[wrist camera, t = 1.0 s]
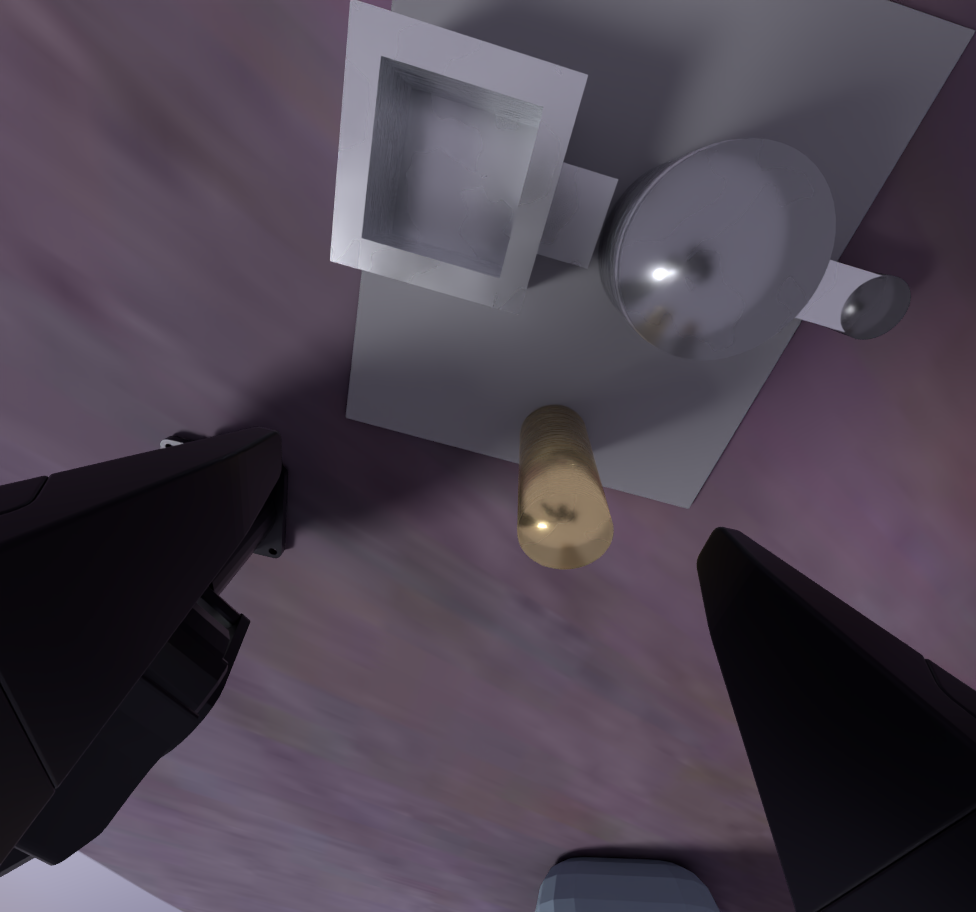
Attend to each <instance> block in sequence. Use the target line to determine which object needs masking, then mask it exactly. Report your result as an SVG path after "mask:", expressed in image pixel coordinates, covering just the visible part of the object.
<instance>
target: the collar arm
mask: <svg viewBox="0 0 976 912" xmlns="http://www.w3.org/2000/svg"><path fill="white" fill-rule="evenodd" d="M587 78H588V75H587V74H584V73H581V72H578V71H575V70H571V69H568V68H565V67H562V66H559V65H556V64H553V63H550V62H547V61H544V60H540V59H537V58H534V57H531V56H528V55H525V54H522V53H519V52H516V51H513V50H509V49H506V48H503V47H500V46H497V45H494V44H491V43H488V42H485V41H482V40H479V39H475V38H472V37H469V36H466V35H463V34H460V33H457V32H454V31H451V30H448V29H444V28H441V27H438V26H435V25H432V24H429V23H426V22H423V21H420V20H417V19H413V18H410V17H407V16H404V15H401V14H398V13H395V12H392V11H389V10H386V9H382V8H379V7H376V6H373V5H370V4H367V3H364V2H361V1H358V0H350V11H349V24H348V36H347V49H346V62H345V75H344V88H343V101H342V113H341V126H340V139H339V152H338V165H337V178H336V190H335V203H334V216H333V229H332V242H331V255H330V261H333V262H336V263H340V264H343V265H347V266H350V267H354V268H357V269H361V270H364V271H368V272H371V273H375V274H378V275H382V276H385V277H389V278H392V279H396V280H399V281H403V282H406V283H410V284H413V285H417V286H420V287H424V288H427V289H431V290H434V291H438V292H441V293H445V294H448V295H451V296H455V297H458V298H462V299H465V300H469V301H472V302H476V303H479V304H483V305H486V306H490V307H493V308H497V309H500V310H504V311H507V312H511V313H514V314H518V315H519V313H520V310H521V306H522V303H523V300H524V296H525V293H526V289H527V286H528V282H529V279H530V275H531V272H532V268H533V265H534V261H535V258H536V255H537V254H539V255H543V256H546V257H549V258H553V259H556V260H559V261H563V262H566V263H570V264H573V265H576V266H580V267H583V268H587V269H588V266H589V263H590V260H591V257H592V254H593V251H594V249H595V246H596V243H597V240H598V237H599V234H600V231H601V228H602V225H603V222H604V220H605V217H606V214H607V211H608V208H609V205H610V202H611V199H612V196H613V194H614V191H615V188H616V185H617V182H618V179H615V178H612V177H609V176H606V175H602V174H599V173H596V172H593V171H590V170H586V169H583V168H580V167H577V166H573V165H570V164H567V163H564V162H563V161H564V157H565V154H566V151H567V147H568V144H569V140H570V137H571V133H572V130H573V126H574V123H575V119H576V116H577V112H578V109H579V106H580V102H581V99H582V95H583V92H584V88H585V85H586V81H587ZM910 299H911V293H910V289H909V286H908V285H907V283H906V282H905V281H904V280H903V279H901V278H899V277H896V276H892V275H886V274H880V273H875V272H869V271H865V270H862V269H859V268H855V267H852V266H849V265H846V264H842V263H839V262H836V261H833V260H830V262H829V264H828V267H827V269H826V272H825V274H824V277H823V278H822V280H821V282H820V284H819V286H818V288H817V290H816V291H815V293H814V294H813V296H812V297H811V299H810V300H809V302H808V303H807V304H806V305H805V307H804V308H803V309H802V310H801V312H800V313H799V314H798V315H797V316H796V317H795V318H798V319H802V320H805V321H809V322H812V323H815V324H819V325H822V326H824V327H826V328H829V329H832V330H834V331H837V332H839V333H842V334H845V335H847V336H850V337H852V338H855V339H862V340H864V339H872V338H875V337H878V336H881V335H883V334H885V333H886V332H888V331H889V330H891V329H892V328H893V327H895V326H896V325H897V324H898V323H899V322H900V320H901V319H902V318H903V317H904V315H905V313H906V312H907V310H908V307H909V304H910Z"/></svg>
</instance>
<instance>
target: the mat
mask: <svg viewBox="0 0 976 912" xmlns="http://www.w3.org/2000/svg"><path fill="white" fill-rule="evenodd" d="M391 11H392V12H395V13H398V14H401V15H404V16H407V17H410V18H413V19H417V20H420V21H423V22H426V23H429V24H432V25H435V26H438V27H441V28H444V29H448V30H451V31H454V32H457V33H460V34H463V35H466V36H469V37H472V38H475V39H479V40H482V41H485V42H488V43H491V44H494V45H497V46H500V47H503V48H506V49H509V50H513V51H516V52H519V53H522V54H525V55H528V56H531V57H534V58H537V59H540V60H544V61H547V62H550V63H553V64H556V65H559V66H562V67H565V68H568V69H571V70H575V71H578V72H581V73H584V74H587V75H588V78H587V81H586V85H585V88H584V92H583V95H582V99H581V102H580V106H579V109H578V112H577V116H576V119H575V123H574V126H573V130H572V133H571V137H570V140H569V144H568V147H567V151H566V154H565V157H564V161H563V162H564V163H567V164H570V165H573V166H577V167H580V168H583V169H586V170H590V171H593V172H596V173H599V174H602V175H606V176H609V177H612V178H615V179H618V182H617V185H616V188H615V191H614V194H613V196H612V199H611V202H610V205H609V208H608V211H607V214H606V217H605V220H604V222H603V225H602V228H601V231H600V234H599V237H598V240H597V243H596V246H595V249H594V251H593V254H592V257H591V260H590V263H589V266H588V269H587V268H583V267H580V266H576V265H573V264H570V263H566V262H563V261H559V260H556V259H553V258H549V257H546V256H543V255H539V254H537V255H536V258H535V261H534V265H533V268H532V272H531V275H530V279H529V282H528V286H527V289H526V293H525V296H524V300H523V303H522V306H521V310H520V313H519V315H518V314H514V313H511V312H507V311H504V310H500V309H497V308H493V307H490V306H486V305H483V304H479V303H476V302H472V301H469V300H465V299H462V298H458V297H455V296H451V295H448V294H445V293H441V292H438V291H434V290H431V289H427V288H424V287H420V286H417V285H413V284H410V283H406V282H403V281H399V280H396V279H392V278H389V277H385V276H382V275H378V274H375V273H371V272H368V271H364V270H362V275H361V284H360V293H359V302H358V311H357V320H356V328H355V337H354V346H353V355H352V364H351V373H350V382H349V391H348V400H347V409H346V418H348V419H352V420H356V421H360V422H363V423H367V424H371V425H375V426H378V427H382V428H386V429H390V430H393V431H397V432H401V433H405V434H408V435H412V436H416V437H420V438H423V439H427V440H431V441H435V442H439V443H442V444H446V445H450V446H454V447H457V448H461V449H465V450H469V451H472V452H476V453H480V454H484V455H487V456H491V457H495V458H499V459H503V460H506V461H510V462H514V463H518V464H519V445H520V429H521V426H522V424H523V422H524V420H525V419H526V417H527V416H528V415H529V414H530V413H531V412H533V411H534V410H536V409H538V408H540V407H543V406H546V405H562V406H566V407H569V408H571V409H572V410H574V411H575V412H577V413H578V414H579V415H580V417H581V418H582V419H583V421H584V423H585V426H586V430H587V433H588V437H589V441H590V444H591V448H592V451H593V455H594V458H595V462H596V466H597V469H598V473H599V476H600V480H601V484H602V486H604V487H608V488H612V489H615V490H619V491H623V492H627V493H630V494H634V495H638V496H642V497H646V498H649V499H653V500H657V501H661V502H664V503H668V504H672V505H676V506H679V507H683V508H687V509H689V507H690V506H691V504H692V502H693V501H694V499H695V497H696V496H697V494H698V492H699V491H700V489H701V487H702V486H703V484H704V483H705V481H706V479H707V478H708V476H709V474H710V473H711V471H712V469H713V468H714V466H715V464H716V463H717V461H718V459H719V458H720V456H721V454H722V453H723V451H724V449H725V448H726V446H727V444H728V443H729V441H730V439H731V438H732V436H733V434H734V433H735V431H736V429H737V428H738V426H739V424H740V423H741V421H742V419H743V418H744V416H745V414H746V413H747V411H748V409H749V408H750V406H751V404H752V403H753V401H754V399H755V398H756V396H757V394H758V393H759V391H760V389H761V388H762V386H763V384H764V383H765V381H766V379H767V378H768V376H769V374H770V373H771V371H772V369H773V368H774V366H775V364H776V363H777V361H778V359H779V358H780V356H781V354H782V353H783V351H784V349H785V348H786V346H787V344H788V343H789V341H790V339H791V338H792V336H793V334H794V333H795V331H796V329H797V328H798V326H799V324H800V323H801V321H802V319H798V318H794V319H793V320H792V321H791V322H790V323H789V324H788V325H787V326H786V327H784V328H783V329H782V330H781V331H780V332H778V333H777V334H776V335H774V336H773V337H771V338H770V339H768V340H767V341H765V342H764V343H762V344H760V345H758V346H756V347H754V348H752V349H750V350H748V351H745V352H743V353H740V354H737V355H734V356H730V357H727V358H721V359H715V360H690V359H685V358H680V357H676V356H673V355H671V354H668V353H666V352H664V351H662V350H660V349H658V348H656V347H655V346H653V345H651V344H650V343H649V342H647V341H646V340H645V339H643V338H642V337H641V336H640V335H639V334H638V333H637V332H636V331H635V330H634V329H633V328H632V326H631V325H630V324H629V323H628V322H627V320H626V319H625V318H624V316H623V315H622V314H621V312H620V311H619V310H618V309H617V308H616V307H615V306H614V305H613V303H612V302H611V301H610V299H609V298H608V296H607V294H606V292H605V290H604V288H603V285H602V282H601V278H600V274H599V266H598V250H599V244H600V238H601V234H602V231H603V227H604V225H605V223H606V220H607V218H608V216H609V214H610V212H611V210H612V208H613V206H614V205H615V204H616V202H617V201H618V199H619V198H620V196H621V195H622V194H623V193H624V192H625V191H626V189H627V188H628V187H629V186H630V185H631V184H632V183H634V182H635V181H636V180H637V179H638V178H639V177H641V176H642V175H644V174H645V173H646V172H648V171H649V170H651V169H653V168H655V167H657V166H659V165H661V164H664V163H666V162H669V161H671V160H674V159H677V158H680V157H682V156H683V155H685V154H687V153H690V152H692V151H695V150H698V149H700V148H703V147H706V146H708V145H711V144H714V143H718V142H723V141H727V140H734V139H748V138H757V139H769V140H773V141H777V142H781V143H784V144H786V145H789V146H791V147H793V148H795V149H797V150H798V151H800V152H801V153H803V154H804V155H806V156H807V157H808V158H809V159H810V160H811V161H812V162H813V163H814V164H815V165H816V166H817V167H818V169H819V170H820V172H821V173H822V174H823V176H824V177H825V180H826V182H827V184H828V186H829V188H830V191H831V194H832V197H833V201H834V206H835V214H836V233H835V240H834V247H833V251H832V254H831V258H830V260H833V261H836V262H837V261H838V259H839V258H840V256H841V254H842V253H843V251H844V249H845V248H846V246H847V244H848V243H849V241H850V239H851V238H852V236H853V234H854V233H855V231H856V229H857V228H858V226H859V224H860V223H861V221H862V219H863V218H864V216H865V214H866V213H867V211H868V209H869V208H870V206H871V204H872V203H873V201H874V199H875V198H876V196H877V194H878V193H879V191H880V189H881V188H882V186H883V184H884V183H885V181H886V179H887V178H888V176H889V174H890V173H891V171H892V169H893V168H894V166H895V164H896V163H897V161H898V159H899V158H900V156H901V154H902V153H903V151H904V149H905V148H906V146H907V144H908V143H909V141H910V139H911V138H912V136H913V134H914V133H915V131H916V129H917V128H918V126H919V124H920V123H921V121H922V119H923V118H924V116H925V114H926V113H927V111H928V109H929V108H930V106H931V104H932V103H933V101H934V99H935V98H936V96H937V94H938V93H939V91H940V89H941V88H942V86H943V84H944V83H945V81H946V79H947V78H948V76H949V74H950V73H951V71H952V69H953V68H954V66H955V64H956V63H957V61H958V59H959V58H960V56H961V54H962V53H963V51H964V49H965V48H966V46H967V44H968V43H969V41H970V39H971V38H972V36H973V35H974V33H975V30H972V29H969V28H966V27H963V26H960V25H958V24H955V23H952V22H949V21H946V20H943V19H940V18H937V17H935V16H932V15H929V14H926V13H923V12H920V11H917V10H914V9H912V8H909V7H906V6H903V5H900V4H897V3H894V2H891V1H889V0H392V7H391Z"/></svg>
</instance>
